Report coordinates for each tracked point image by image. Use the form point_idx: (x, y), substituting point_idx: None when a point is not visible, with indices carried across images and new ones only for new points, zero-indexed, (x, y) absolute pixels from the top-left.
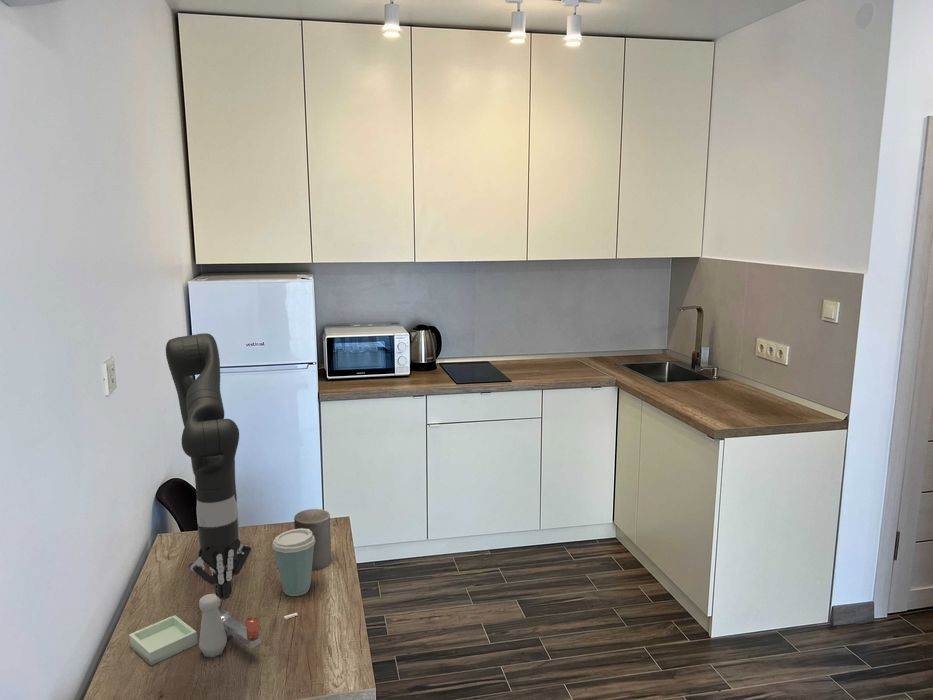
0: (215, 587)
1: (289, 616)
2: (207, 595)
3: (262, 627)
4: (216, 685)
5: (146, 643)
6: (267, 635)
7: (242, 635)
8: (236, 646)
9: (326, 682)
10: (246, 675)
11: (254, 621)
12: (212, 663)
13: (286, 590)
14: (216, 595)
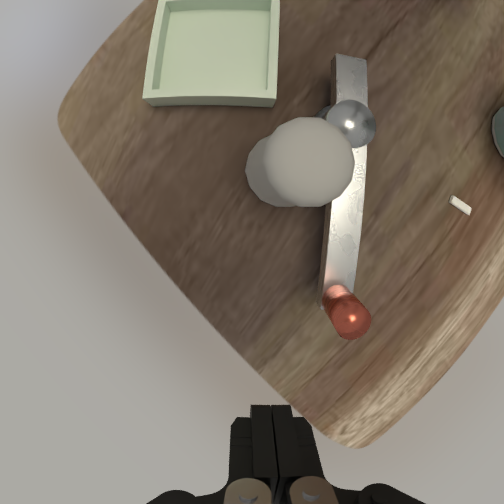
0: (229, 464)
1: (458, 207)
2: (317, 139)
3: (408, 182)
4: (212, 293)
5: (184, 30)
6: (395, 220)
7: (327, 267)
8: None
9: (342, 420)
10: (274, 313)
11: (353, 335)
12: (251, 211)
13: (498, 131)
14: (233, 427)
